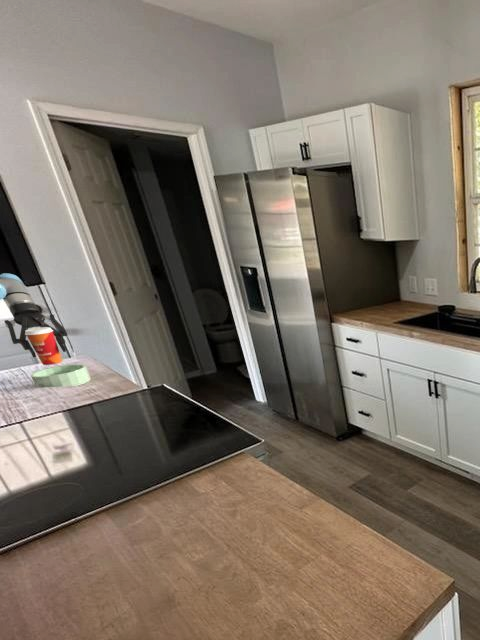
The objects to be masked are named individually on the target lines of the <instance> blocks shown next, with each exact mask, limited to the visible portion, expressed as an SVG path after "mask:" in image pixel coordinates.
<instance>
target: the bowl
mask: <svg viewBox="0 0 480 640" xmlns="http://www.w3.org/2000/svg"><path fill="white" fill-rule="evenodd" d="M30 377H31V380H32V382H33V384H34V386H35V388H37V389H39V388H60V387H78V386H81V385H83V384H87V383H88V382H90V381H92V380H91V376H90V373H89V370H88V369H87V366H86V365H85V364H81V363H73V364H64V365H57V366H52V367H47V368H44V369H40V370H37V371H35V372H31V374H30Z"/></svg>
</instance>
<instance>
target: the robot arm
mask: <svg viewBox="0 0 480 640" xmlns="http://www.w3.org/2000/svg"><path fill="white" fill-rule="evenodd" d="M1 300H3V302H4V303H5V305H6V307H7V309H8V310H9V312H10V314H11V315H12V317H13V319H12V320H9V319H5V320H4V321H3V322H4V325H5V327H7V329H8V331H9V335H10V339H11V342H12V344H13V345H18V344H20V345H21V347H22V348H23V349H24V351H29V352H30V354H31V356H32V358H36V357H37V353H36V352H35V350H34V348H33V346H32V344H31V342H30V341H29V339H27V335H25V331H26V330H29V329H33V328H42V327H50V328H51V329H52V330H53V331H52V332H53V335H54V337H55V340H56V343H57V345H59V347H60V349H61V350H62V352H63V353H65V352H67V349H66V347H65V344H66V340H65V338H64V337H67V336H68V332H67V330H66V329H65V328H64V327H63V326H62V325H61V324H60V322H58V320H57V319H56V317H55V315H54V314H53V313H51V314H50V315H44V314H42V312H41V310H40V309H39V307H38V306H37V304H36V302H35V301H34V299H33V297H32V296H31V295H30V293H29V291H28V288H26V285H25V284H24V282H23V280H22V279H21V278H20V277H19V276H17V275H15V274H14V273H13V274H12V273H6V272H4V273H0V301H1ZM45 320H47V321H48V322H51V324H52V325H53V326H54V327H52V326H51V325H49V324H48V323H46V321H45ZM15 324H17V325H20V326H21V327H20V333H19V338H17V335H16V332H15V328H14V327H15V326H16V325H15Z"/></svg>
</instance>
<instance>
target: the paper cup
mask: <svg viewBox="0 0 480 640" xmlns="http://www.w3.org/2000/svg"><path fill="white" fill-rule="evenodd" d="M52 331H53V330H52V329H51V328H50V327H42V328H41V327H35V328H29V329H28V330H26V331H25V335H27V336H26V338H27V340H28V342H29V343H30V345H31V347H32V349H33V350H34V352H35V354H36V356H37V357H38V359H39V361H40V363H41V364H42V365H43V366H51V365H57V364H60V363H62V362H63V359H62V355H61V352H60V350H59V346H58V342H57V340H56V337H55V336H54V335H53V332H52Z"/></svg>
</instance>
